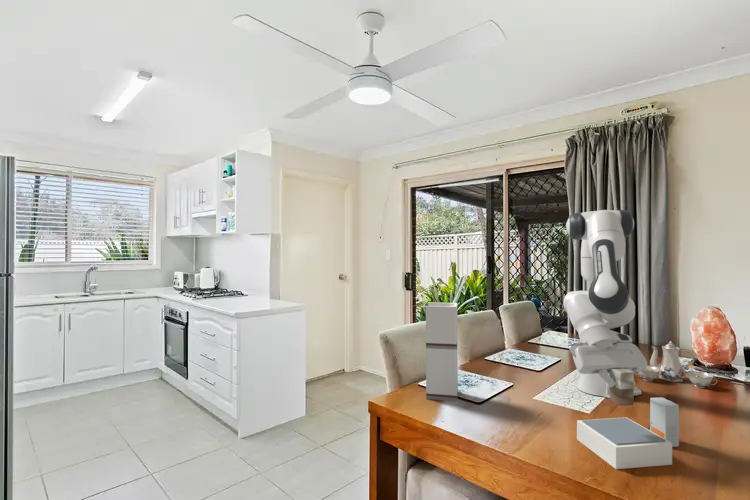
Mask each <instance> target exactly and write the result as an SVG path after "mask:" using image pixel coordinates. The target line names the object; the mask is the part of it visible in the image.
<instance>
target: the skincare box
mask: <svg viewBox="0 0 750 500" xmlns="http://www.w3.org/2000/svg"><path fill="white" fill-rule="evenodd" d="M649 405H650V407H649V409H650V410H649V415H650V416H649V430H650V431H651V432H653V433H655V434H657V435H659V436H660V437H662V438H664V439H666V440H667V441H669V442H671V443H672V448H674V447H675V448H676V447H677V448H678V447H680V406H679V404H678V403H675V402H673V401H671V400H668V399H666V398H664V397H662V396H661V397H650V398H649Z"/></svg>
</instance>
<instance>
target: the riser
mask: <svg viewBox="0 0 750 500" xmlns="http://www.w3.org/2000/svg"><path fill="white" fill-rule="evenodd" d="M576 440H577V441H579V442H580V443H581V444H582V445H584V446H585V447H586V448H588V449H589V450H590V451H591V452H593V453H594V454H595V455H597V456H598V457H599V458H600V459H602V460H603V461H604V462H606V463H607V464H609V465H610V466H611V467H613V468H614V469H615V470H621V469H635V468H644V467H645V468H646V467H647V468H648V467H659V466H668V465H669V466H671V465H672V466H673V447H672V443H671V442H669V441H667V440H666V439H664V438H662V437H660V436H659V435H657V434H655V433H653V432H651V431H650V429H648V428H646V427H644V426H643V425H641V424H639V423H638V422H636V421H633V420H632V419H630V418H628V417H627V416H626V417H624V416H623V417H612V418H611V417H609V418H595V419H583V420H581V419H579V420H578V419H577V420H576Z"/></svg>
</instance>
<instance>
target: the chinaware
mask: <svg viewBox="0 0 750 500" xmlns="http://www.w3.org/2000/svg"><path fill="white" fill-rule="evenodd" d="M650 346H651V348H652V349H653V351H652V352H653V353H652V354H651V358H650V360H649V365H648V364H647V367H646V368H645V369H644V370H643V371H641V372H638V373H637V372H634V375H637V376H639V378H643V379H642V380H643V381H646V382H653V381H654V379H656V378H657V377H658V378H659V379H661V380H663V381H668V382H670V383H671V382H673V383H682V382H684V379H685V377H686V376H687V375H688V376H687V377H688V379H689V380H690V382H691V383H692V384H693V385H694V387H695V388H700V389H704V388H705V389H706V386H707V387H710V385H711V386H715V385H716V384H717V383H718V380H717V378H716V377H715V376H714V375H713V374H710V373H709V374H708V373H707V372H705V371H694V370H689V369H690V366H692V365H693V364H694V363H695V361H696V359H695V355H694V354H693V353H692V352H691V351H689V350H683V349H681V348H680V347H678V346H676V345H675V344H674V343H673V341H671V340H670V341H668V343H667V344H665V345H662V346H661V348H662V358H661V361H660V362H659V363H658V362H657V360H658V353H659V351H658V348H657V347H656V346H655V345H650ZM680 349H681V350H680ZM684 352H685V353H688V354H690V355H691V357H692V361H691V362H690V363H688V364H683V365H682V363H681V360H680V356H679V355H684ZM686 371H687V372H686ZM714 379H715V383H712V380H714Z"/></svg>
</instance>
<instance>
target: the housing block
mask: <svg viewBox="0 0 750 500" xmlns="http://www.w3.org/2000/svg"><path fill="white" fill-rule="evenodd" d="M634 375H635V374H634V372H632V371H629V370H627V369H624V368H613V369H610V377H611V378H612V379H615V380H616V382H617V384H618V385H617V386H616V387H610V398H609V401H610V402H612V403H614V404H616V405H618V406H620V407H621V406H622V407H624V406H634V405H635V403H634V401H635V400H634V386H635V385H634V381H635V379H634Z"/></svg>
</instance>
